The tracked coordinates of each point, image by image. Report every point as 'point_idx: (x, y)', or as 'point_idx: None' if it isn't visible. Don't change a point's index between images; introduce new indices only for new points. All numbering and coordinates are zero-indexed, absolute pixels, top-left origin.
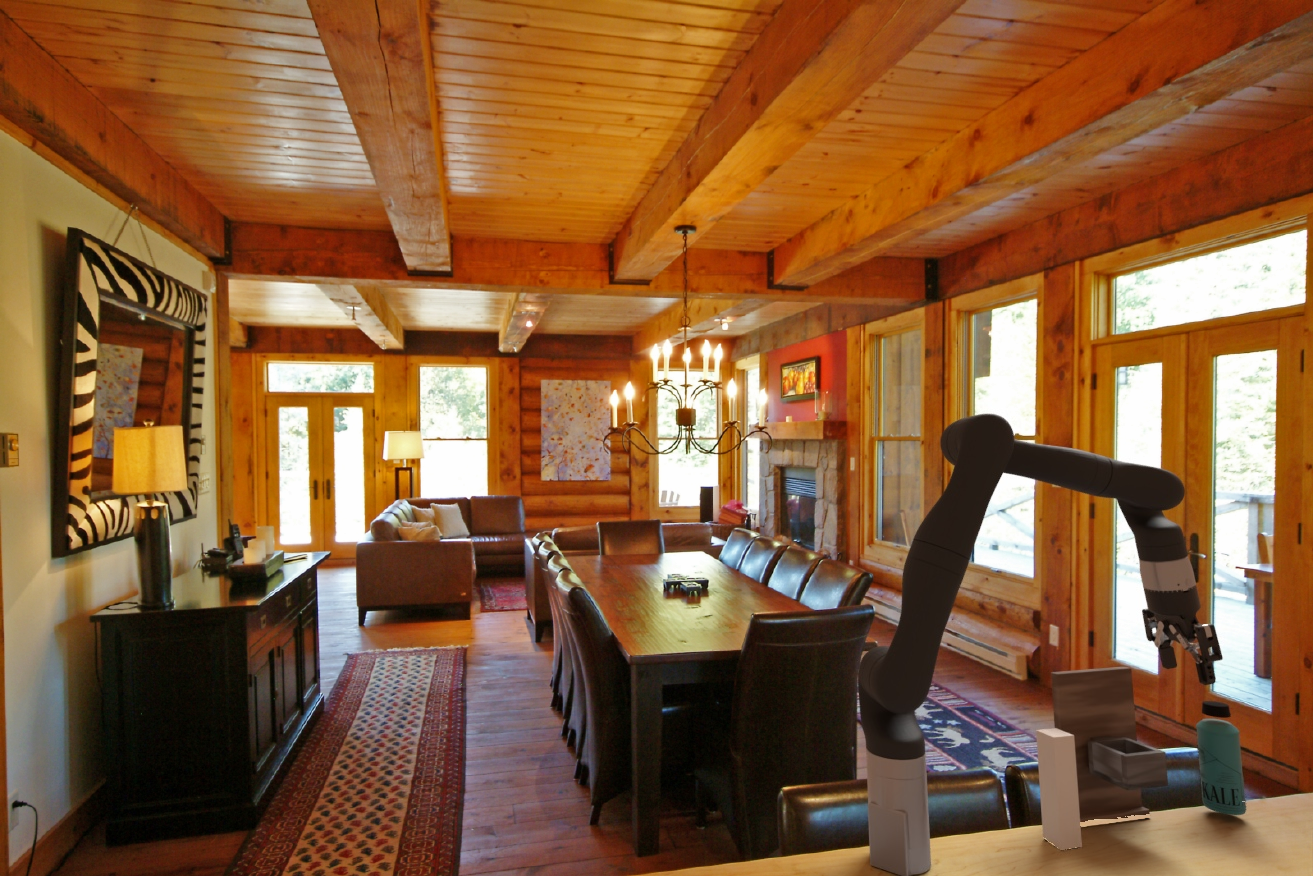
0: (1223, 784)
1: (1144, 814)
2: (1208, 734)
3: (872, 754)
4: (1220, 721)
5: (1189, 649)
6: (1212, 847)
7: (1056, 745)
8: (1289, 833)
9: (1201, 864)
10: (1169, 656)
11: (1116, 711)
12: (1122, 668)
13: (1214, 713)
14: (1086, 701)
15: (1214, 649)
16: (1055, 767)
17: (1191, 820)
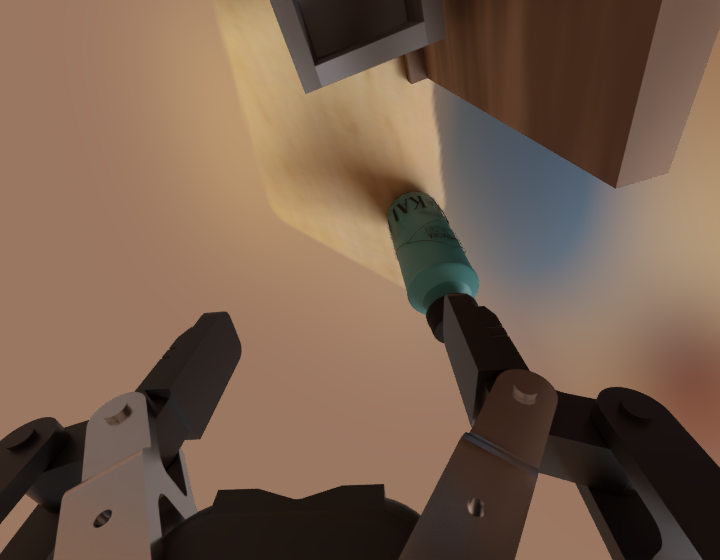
0: (397, 226)
1: (407, 69)
2: (427, 264)
3: None
4: None
5: (103, 470)
6: (305, 127)
7: None
8: (361, 252)
9: (234, 65)
10: (458, 359)
11: (510, 28)
12: (641, 132)
13: (436, 306)
14: None
15: (35, 542)
16: None
17: (400, 153)
